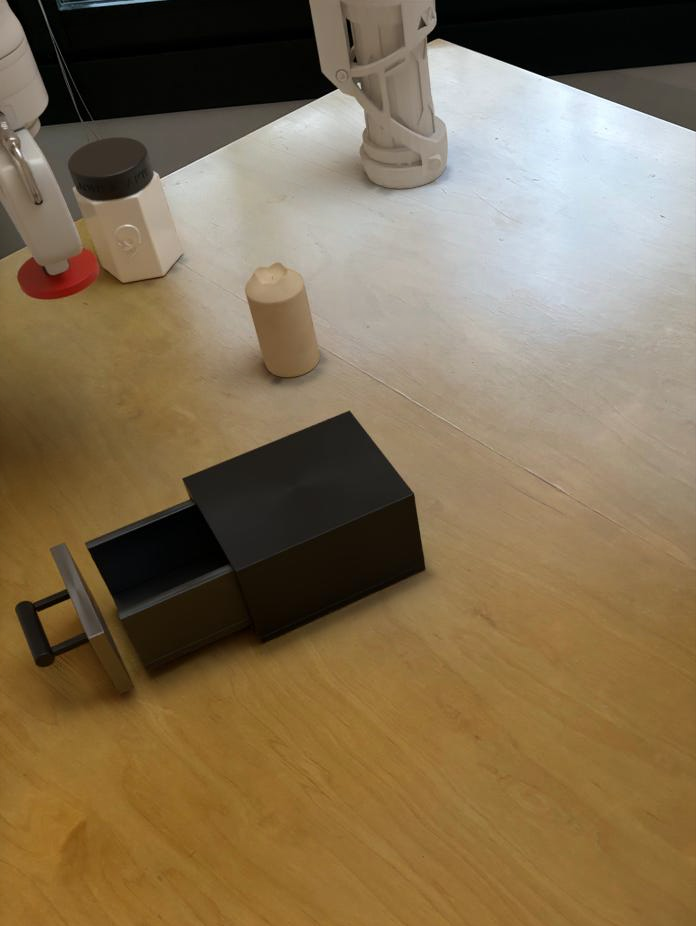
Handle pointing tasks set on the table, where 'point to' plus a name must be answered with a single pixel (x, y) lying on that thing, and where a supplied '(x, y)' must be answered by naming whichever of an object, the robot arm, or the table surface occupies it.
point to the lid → (58, 277)
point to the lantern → (386, 83)
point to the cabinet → (310, 523)
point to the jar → (124, 209)
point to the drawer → (146, 593)
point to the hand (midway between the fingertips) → (51, 259)
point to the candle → (282, 320)
